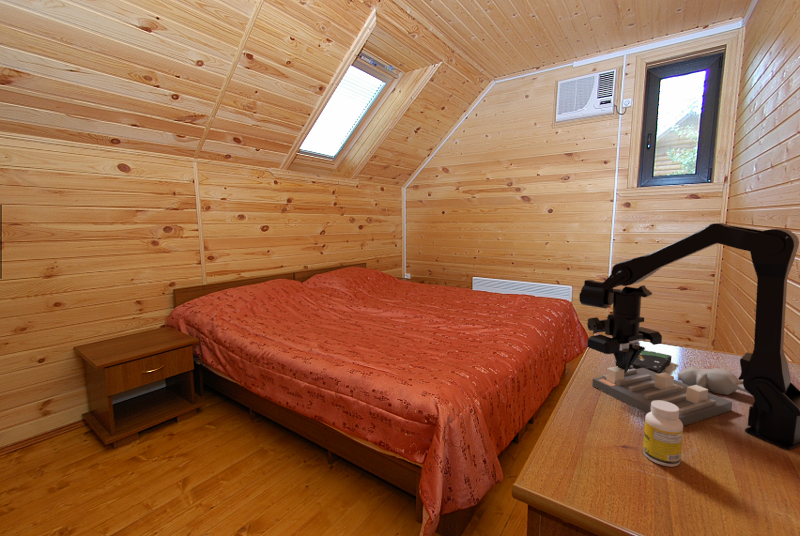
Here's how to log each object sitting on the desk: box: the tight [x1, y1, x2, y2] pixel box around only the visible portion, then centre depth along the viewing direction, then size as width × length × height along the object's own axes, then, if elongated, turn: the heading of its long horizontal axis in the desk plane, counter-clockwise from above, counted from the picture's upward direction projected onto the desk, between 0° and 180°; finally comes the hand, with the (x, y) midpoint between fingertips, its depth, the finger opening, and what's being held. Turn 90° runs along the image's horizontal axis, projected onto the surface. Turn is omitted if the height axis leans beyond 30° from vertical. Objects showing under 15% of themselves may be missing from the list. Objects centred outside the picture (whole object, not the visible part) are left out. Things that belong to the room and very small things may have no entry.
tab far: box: [605, 365, 624, 384], centre depth 90 cm, size 2×3×3 cm
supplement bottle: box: [642, 400, 684, 468], centre depth 64 cm, size 5×5×10 cm
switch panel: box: [592, 368, 733, 427], centre depth 85 cm, size 20×18×3 cm
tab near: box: [686, 385, 709, 404], centre depth 79 cm, size 2×3×3 cm
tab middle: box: [654, 372, 675, 390], centre depth 86 cm, size 2×3×3 cm
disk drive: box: [615, 349, 672, 374], centre depth 105 cm, size 10×3×15 cm
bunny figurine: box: [677, 366, 751, 396], centre depth 89 cm, size 10×5×15 cm
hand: (622, 372), depth 91 cm, fingers closed
